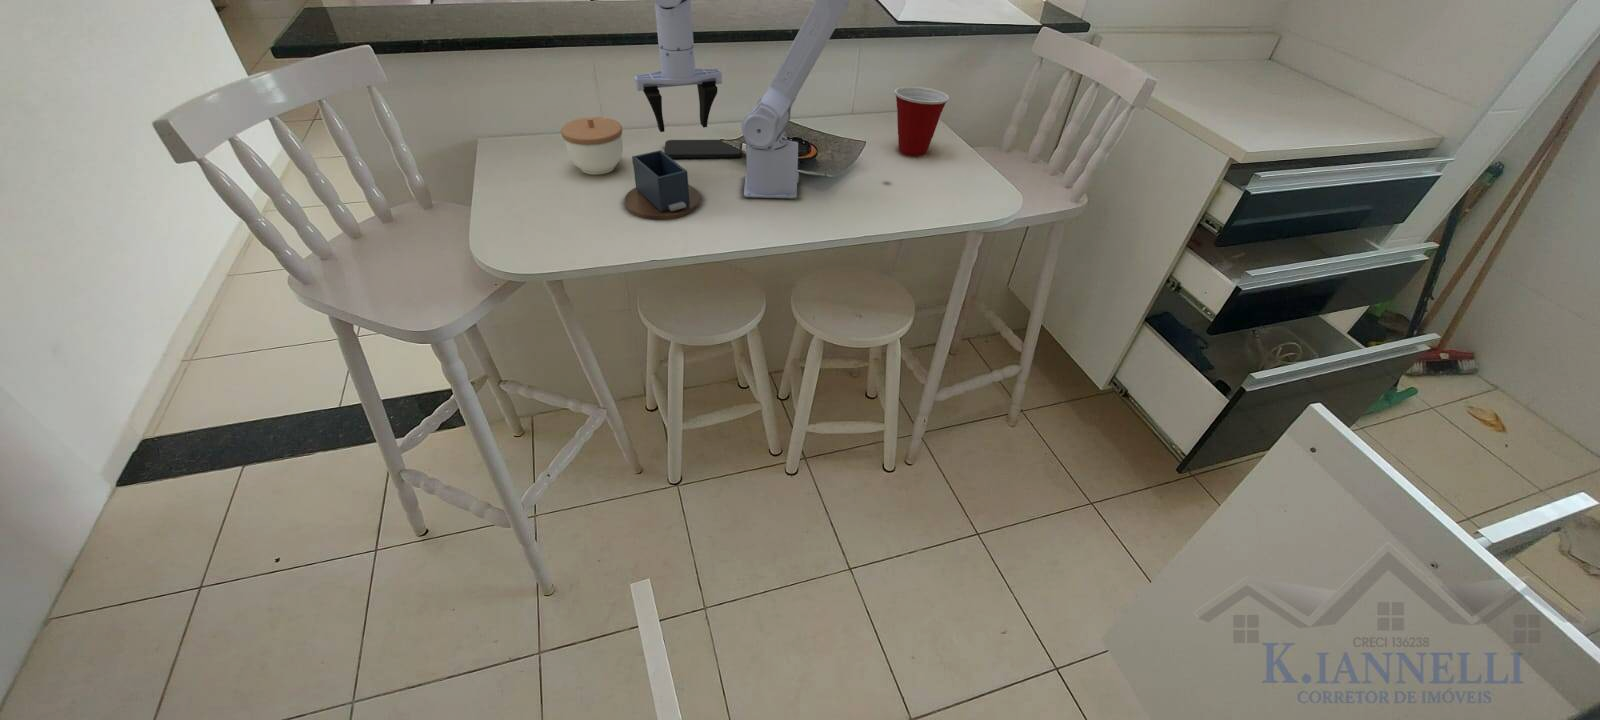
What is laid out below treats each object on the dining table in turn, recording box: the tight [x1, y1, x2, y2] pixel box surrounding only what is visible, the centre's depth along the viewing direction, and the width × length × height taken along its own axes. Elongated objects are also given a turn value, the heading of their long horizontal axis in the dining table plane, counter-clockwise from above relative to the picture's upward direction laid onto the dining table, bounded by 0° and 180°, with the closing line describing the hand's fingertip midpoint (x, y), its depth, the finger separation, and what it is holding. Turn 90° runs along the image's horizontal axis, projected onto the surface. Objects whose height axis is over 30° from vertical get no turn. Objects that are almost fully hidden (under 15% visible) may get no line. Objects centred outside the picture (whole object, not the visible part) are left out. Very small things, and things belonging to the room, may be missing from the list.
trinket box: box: [560, 116, 624, 176], centre depth 123 cm, size 11×11×9 cm
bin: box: [631, 149, 690, 212], centre depth 113 cm, size 11×5×6 cm, turn 35°
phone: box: [664, 139, 742, 159], centre depth 133 cm, size 7×1×15 cm
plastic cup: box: [894, 86, 950, 158], centre depth 133 cm, size 11×11×12 cm
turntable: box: [624, 184, 701, 220], centre depth 116 cm, size 13×13×1 cm
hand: (682, 127), depth 118 cm, fingers open, 7 cm apart
